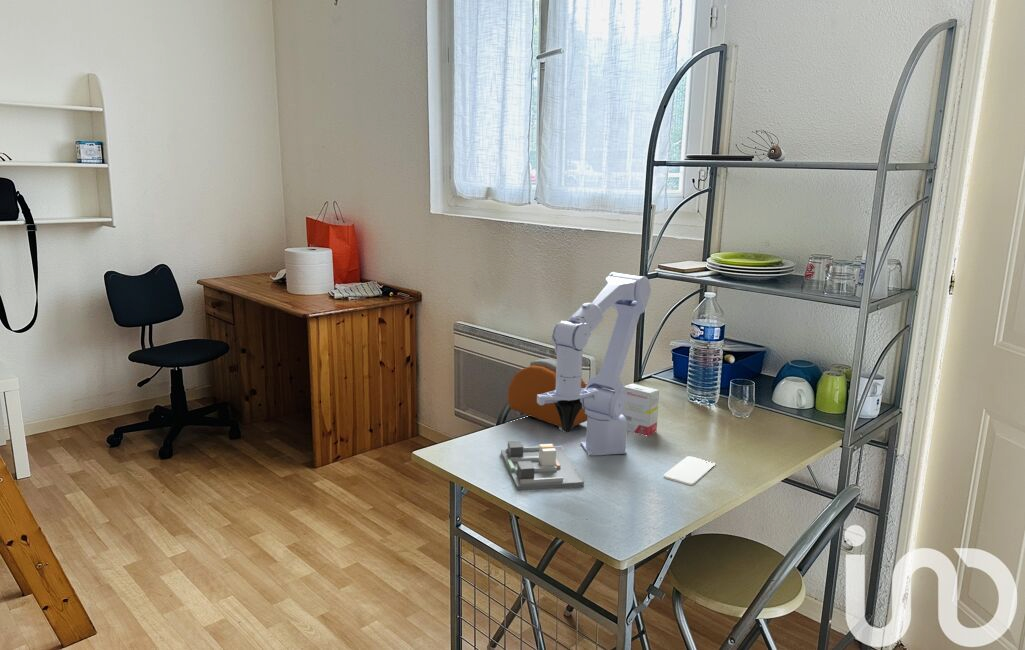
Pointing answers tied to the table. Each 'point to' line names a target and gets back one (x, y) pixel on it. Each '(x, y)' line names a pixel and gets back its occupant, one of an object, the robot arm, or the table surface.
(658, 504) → the table surface
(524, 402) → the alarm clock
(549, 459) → the handle
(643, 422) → the ink box
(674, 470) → the smartphone
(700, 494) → the table surface
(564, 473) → the breaker board
